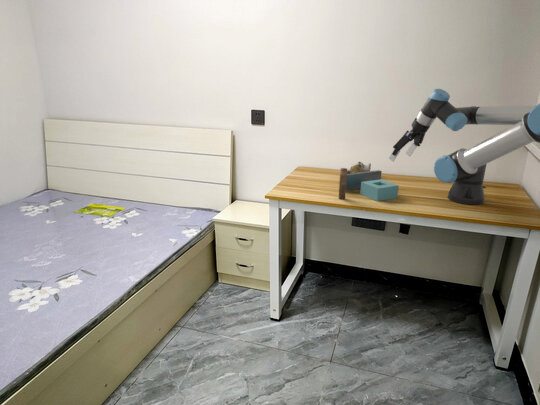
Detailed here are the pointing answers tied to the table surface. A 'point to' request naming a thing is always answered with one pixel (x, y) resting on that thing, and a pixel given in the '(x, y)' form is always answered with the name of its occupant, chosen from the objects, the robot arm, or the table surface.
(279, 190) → the table surface
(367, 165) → the ceramic sculpture
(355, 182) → the backstop
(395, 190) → the block
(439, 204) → the table surface
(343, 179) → the dowel
